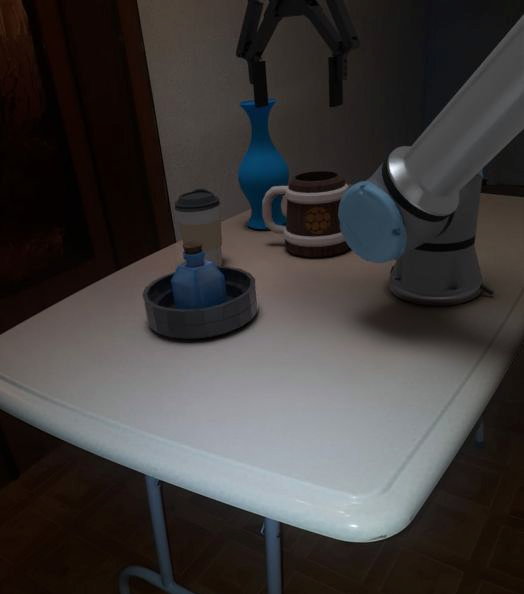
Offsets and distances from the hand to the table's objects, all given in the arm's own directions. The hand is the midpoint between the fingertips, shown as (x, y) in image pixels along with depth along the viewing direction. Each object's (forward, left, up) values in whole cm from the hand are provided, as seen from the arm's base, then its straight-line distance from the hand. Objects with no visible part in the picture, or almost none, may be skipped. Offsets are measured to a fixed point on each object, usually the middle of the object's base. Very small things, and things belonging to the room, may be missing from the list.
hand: (297, 106), depth 86 cm
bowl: (+10, +17, -31) cm, 36 cm away
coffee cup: (+26, -2, -31) cm, 40 cm away
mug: (+12, -20, -31) cm, 39 cm away
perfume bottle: (+10, +17, -30) cm, 36 cm away
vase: (+30, -30, -31) cm, 52 cm away
